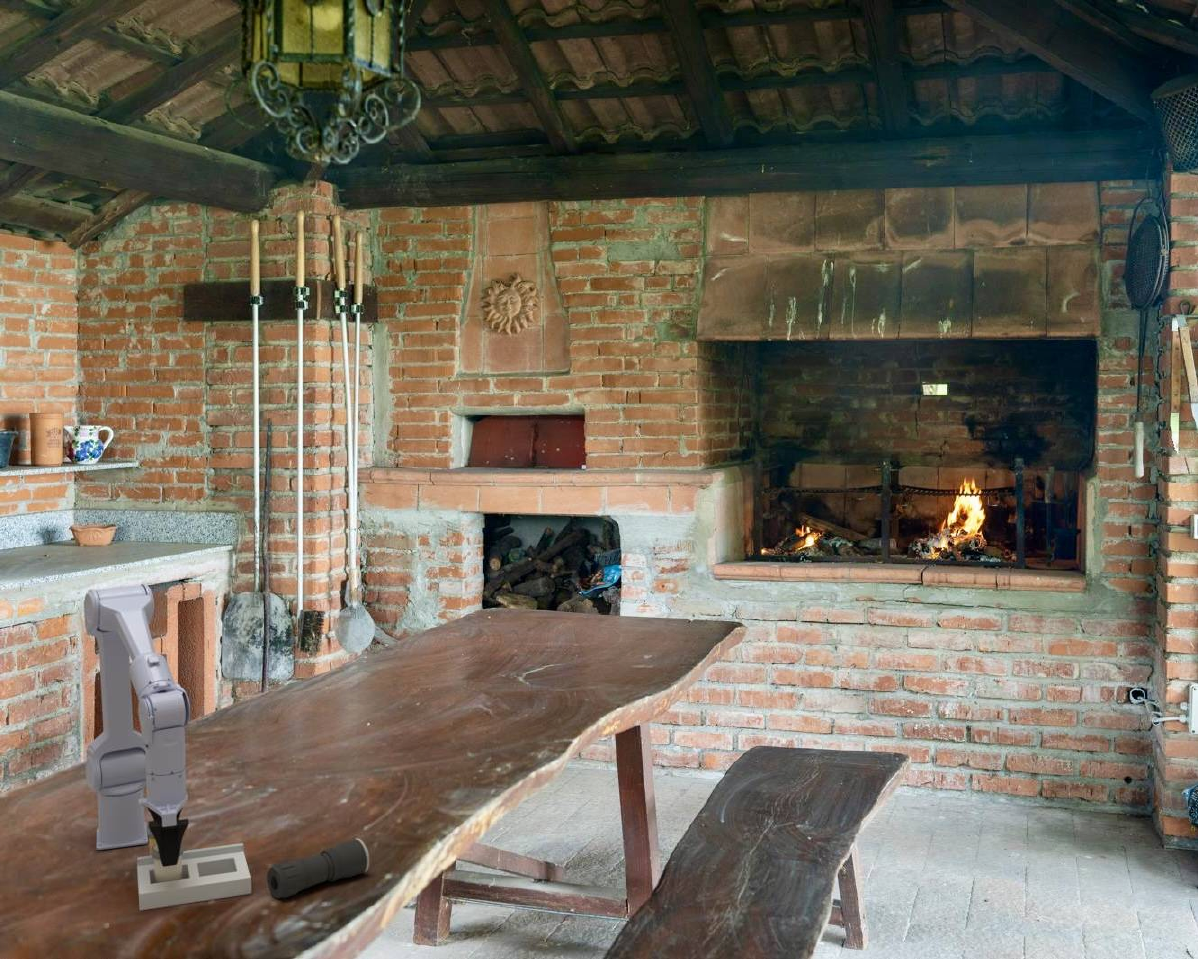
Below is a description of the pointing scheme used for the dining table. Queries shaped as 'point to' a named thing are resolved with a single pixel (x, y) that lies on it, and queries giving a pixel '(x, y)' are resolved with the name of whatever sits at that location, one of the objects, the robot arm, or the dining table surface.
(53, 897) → the dining table surface
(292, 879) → the flashlight
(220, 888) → the housing
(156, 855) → the cream grey-rimmed peg
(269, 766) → the dining table surface
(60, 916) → the dining table surface
